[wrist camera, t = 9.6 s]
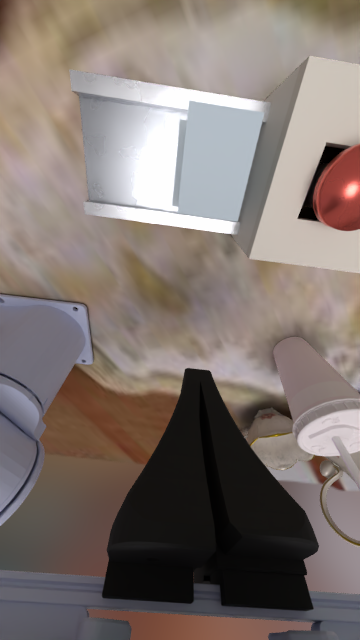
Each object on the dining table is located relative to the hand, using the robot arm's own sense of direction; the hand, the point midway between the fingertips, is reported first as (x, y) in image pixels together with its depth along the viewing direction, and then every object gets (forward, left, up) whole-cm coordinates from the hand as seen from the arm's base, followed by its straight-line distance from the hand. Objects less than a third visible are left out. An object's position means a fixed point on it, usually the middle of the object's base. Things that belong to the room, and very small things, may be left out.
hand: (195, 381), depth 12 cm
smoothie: (+12, -5, -11) cm, 17 cm away
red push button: (+6, +10, -8) cm, 14 cm away
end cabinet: (+6, +10, -10) cm, 15 cm away
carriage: (-1, +10, -9) cm, 14 cm away
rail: (-3, +10, -10) cm, 15 cm away
